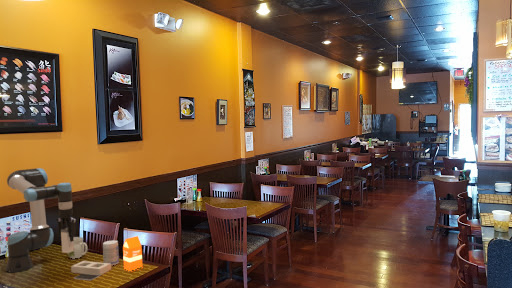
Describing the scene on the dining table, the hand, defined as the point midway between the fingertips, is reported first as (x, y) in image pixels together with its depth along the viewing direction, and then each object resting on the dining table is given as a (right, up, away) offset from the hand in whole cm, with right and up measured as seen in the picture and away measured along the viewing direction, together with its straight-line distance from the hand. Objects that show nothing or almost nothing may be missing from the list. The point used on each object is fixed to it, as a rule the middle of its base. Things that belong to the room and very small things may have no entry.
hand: (67, 246), depth 234 cm
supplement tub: (+19, -18, +21) cm, 33 cm away
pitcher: (-11, -18, +37) cm, 43 cm away
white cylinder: (0, -3, 0) cm, 3 cm away
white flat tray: (+11, -18, +9) cm, 23 cm away
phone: (+12, -19, -2) cm, 23 cm away
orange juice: (+37, -17, +11) cm, 42 cm away
